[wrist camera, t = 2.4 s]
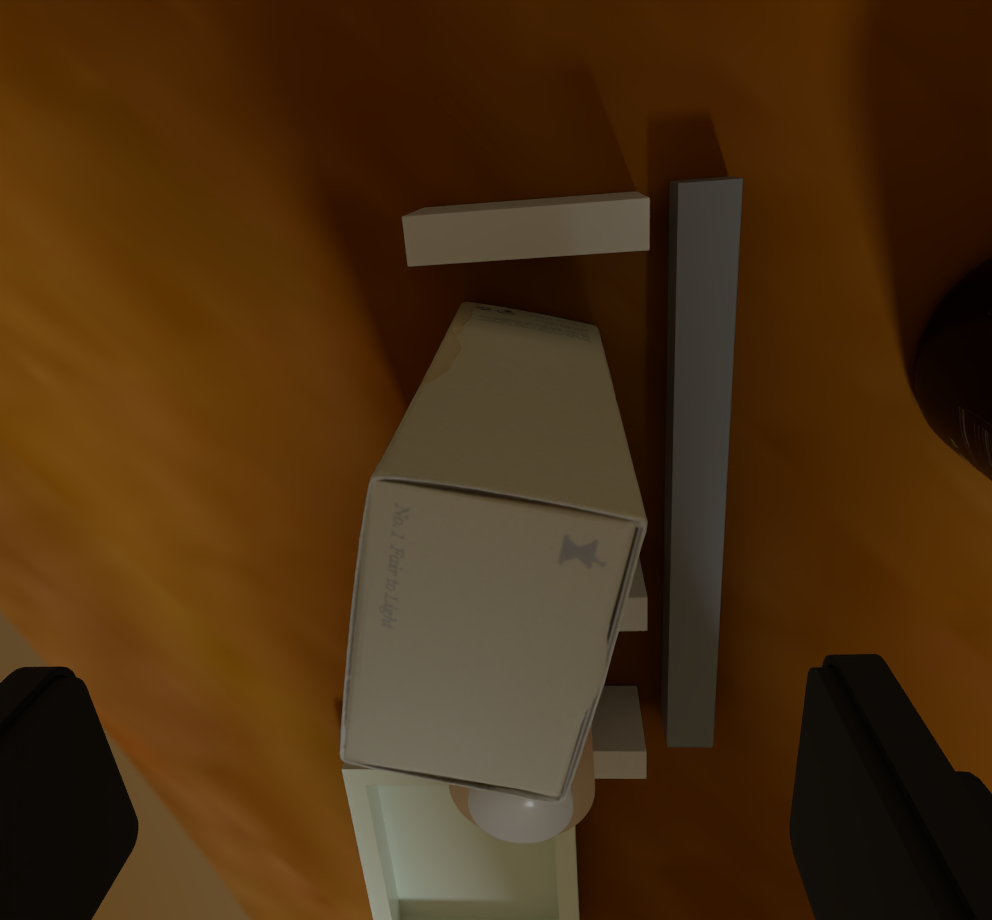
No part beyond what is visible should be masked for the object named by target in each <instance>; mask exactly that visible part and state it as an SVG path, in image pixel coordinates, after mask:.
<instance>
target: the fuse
mask: <svg viewBox="0 0 992 920" xmlns="http://www.w3.org/2000/svg"><path fill="white" fill-rule="evenodd" d="M449 789H450V794H451V796H452V799H453V801H454V803H455V805H456V806H457V808H458V809H459V810H460V812H461V813H462V814H463V815H464V816H465V817H466V818H467V819H468V820H469V821H471V822H472V823H473V824H475V825H476V826H478V827H480V828H481V829H483V830H484V831H485V832H487V833H488V834H490V835H492V836H494V837H496V838H498V839H501V840H504V841H508V842H513V843H523V844H524V843H536V842H541V841H544V840H547V839H550V838H552V837H554V836H556V835H558V834H561V833H563V832H565V831H567V830H569V829H571V828H572V827H574V826H575V825H577V824H578V823H579V822H580V821H581V820H582V819H583V818H584V817H585V816H586V815H587V813H588V812H589V810H590V808H591V806H592V804H593V801H594V797H595V776H594V759H593V742H592V725H591V727H590V730H589V733H588V736H587V739H586V742H585V745H584V749H583V752H582V755H581V758H580V761H579V764H578V767H577V770H576V773H575V776H574V779H573V782H572V785H571V787H570V790H569V793H568V796H567V798H566V800H564V801H563V802H561V803H546V802H542V801H536V800H530V799H525V798H520V797H515V796H511V795H504V794H499V793H494V792H488V791H482V790H477V789H472V788H467V787H462V786H458V785H451V784H449Z"/></svg>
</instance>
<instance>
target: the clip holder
mask: <svg viewBox="0 0 992 920" xmlns="http://www.w3.org/2000/svg"><path fill="white" fill-rule="evenodd" d="M742 186H743V178H737V177H730V176H728V177H715V178H702V179H689V180H676V181H669V243H668V306H667V370H666V433H665V497H664V560H663V624H662V688H661V717H662V723H663V728H664V734H665V739H666V745H667V747H713V739H714V720H715V701H716V682H717V663H718V644H719V625H720V606H721V586H722V567H723V548H724V529H725V510H726V491H727V472H728V453H729V434H730V415H731V396H732V377H733V358H734V339H735V320H736V301H737V282H738V263H739V244H740V224H741V205H742ZM402 223H403V231H404V240H405V248H406V256H407V264H408V267H410V266H424V265H439V264H454V263H468V262H483V261H498V260H512V259H527V258H542V257H556V256H571V255H586V254H600V253H615V252H630V251H644V250H650V198H649V197H647V196H645V195H643V194H641V193H639V192H637V191H634V192H620V193H607V194H594V195H581V196H568V197H555V198H542V199H529V200H516V201H503V202H490V203H477V204H464V205H451V206H437V207H424V208H422V209H419V210H417V211H414V212H412V213H409V214H407V215H405V216H402ZM619 631H647V593H646V588H645V583H644V578H643V573H642V568H641V563H640V558H638V563H637V567H636V570H635V574H634V578H633V582H632V585H631V589H630V593H629V596H628V600H627V603H626V607H625V611H624V614H623V618H622V622H621V626H620V630H619ZM591 725H592V742H593V759H594V776H595V779H646V764H647V751H646V744H645V738H644V731H643V724H642V717H641V711H640V704H639V697H638V690H637V686H604V687H603V690H602V693H601V696H600V699H599V702H598V705H597V708H596V711H595V714H594V718H593V721H592V724H591Z"/></svg>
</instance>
